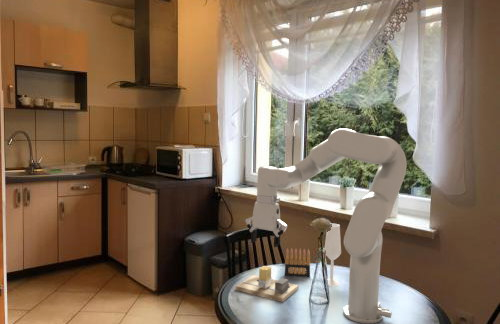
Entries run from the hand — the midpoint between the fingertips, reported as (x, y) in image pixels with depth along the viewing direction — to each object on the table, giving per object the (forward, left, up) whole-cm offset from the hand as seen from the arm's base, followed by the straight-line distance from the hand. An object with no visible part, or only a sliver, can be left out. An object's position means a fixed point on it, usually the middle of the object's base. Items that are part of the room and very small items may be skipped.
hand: (264, 244), depth 149 cm
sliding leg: (0, -2, -16) cm, 16 cm away
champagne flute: (-19, -22, -18) cm, 35 cm away
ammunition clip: (-4, -22, -19) cm, 29 cm away
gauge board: (0, -2, -18) cm, 18 cm away
